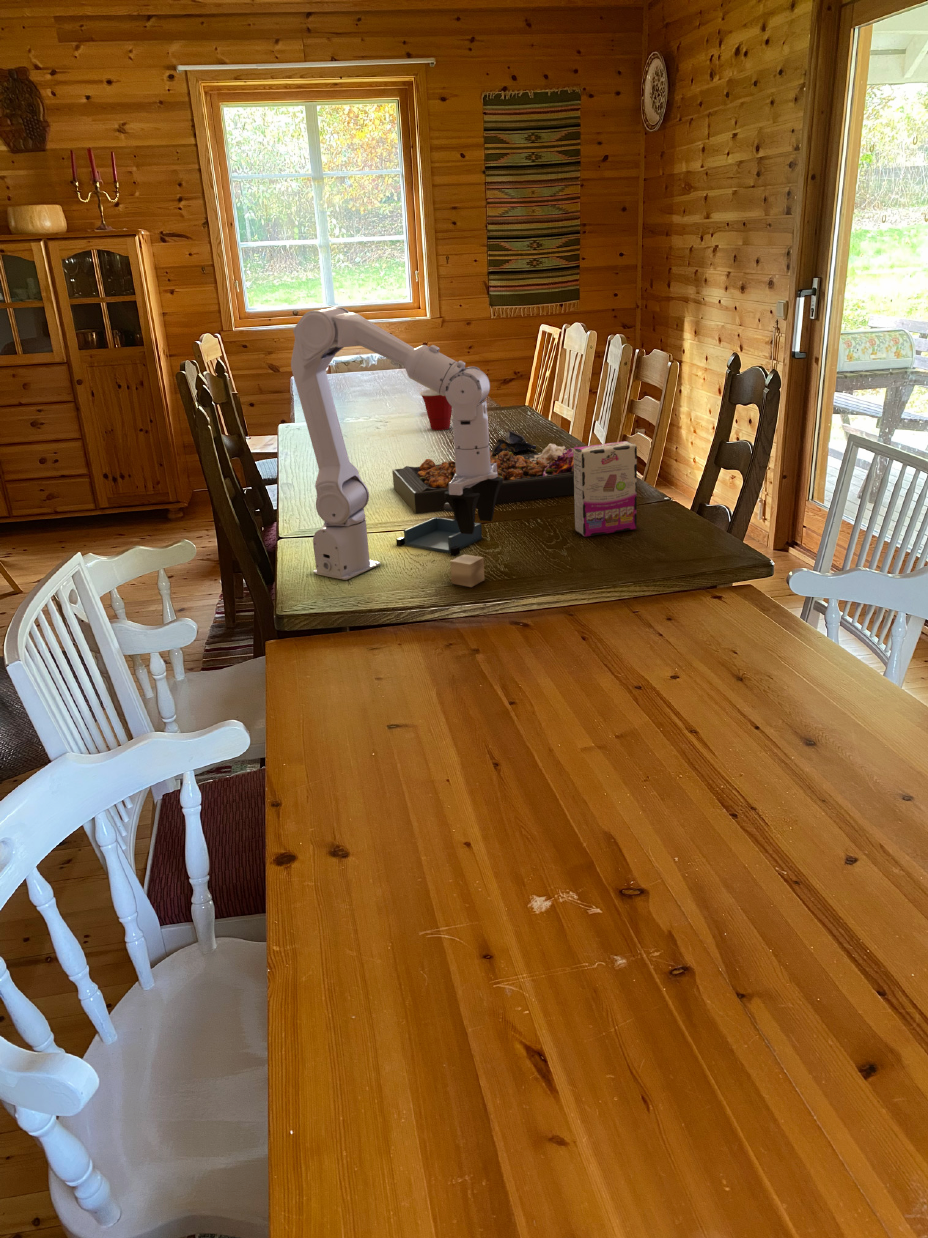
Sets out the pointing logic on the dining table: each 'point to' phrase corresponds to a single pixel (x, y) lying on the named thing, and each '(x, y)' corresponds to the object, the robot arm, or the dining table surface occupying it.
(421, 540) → the tray
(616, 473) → the candy bar box
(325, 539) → the robot arm
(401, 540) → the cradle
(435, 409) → the plastic cup
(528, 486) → the food platter
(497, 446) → the snack package
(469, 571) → the block
